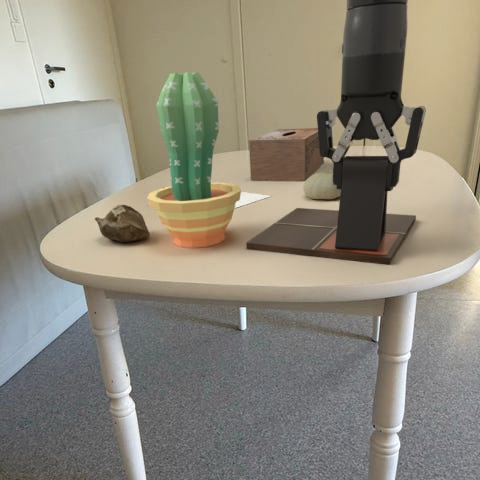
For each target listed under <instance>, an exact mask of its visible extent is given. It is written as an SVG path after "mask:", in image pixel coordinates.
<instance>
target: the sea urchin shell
mask: <svg viewBox="0 0 480 480" xmlns="http://www.w3.org/2000/svg"><path fill="white" fill-rule="evenodd" d="M336 186H337V185H334V184H333V173H330V172H318V173H317V172H316V173H313V174H312V175H311V176H309V177H308V178H307V179H306V180H305V181H304V185H303V192H304V195H305V196H306V197H307V198H309V199H312V200H330V201H331V200H334V199H337V198H340V194H341V189H337V188H336Z"/></svg>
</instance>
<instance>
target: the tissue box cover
mask: <svg viewBox="0 0 480 480" xmlns="http://www.w3.org/2000/svg"><path fill="white" fill-rule="evenodd" d="M248 146H249V147H248V149H249V150H248V151H249V165H250V166H249V167H250V168H249V169H250V171H249V172H250V181H251V180H270V181H269V182H306V181H307V179H308V178H309V177H311V176H312V175H314V174H315V172H316V171H318V169H320V168H321V167H322V166H323V165H324V164H325V160H324V159H325V157H322V156H321V155H320V148H319V136H318V127H309V128H278V129H274V130H271V131H269V132H267V133H264V134H261V135H259V136H257V137H254V138H252V139H249V140H248ZM322 164H323V165H322ZM321 165H322V166H321ZM320 166H321V167H320Z"/></svg>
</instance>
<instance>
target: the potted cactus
mask: <svg viewBox="0 0 480 480" xmlns="http://www.w3.org/2000/svg"><path fill="white" fill-rule="evenodd" d="M156 110H157V115H158V120H159V127H160V132H161V135H162V136H161V137H162V138H163V141H164V143H165V146H166V148H167V151H168V159H169V168H170V171H169V172H170V181H171V186H166V187H161V188H159V189H156V190H153V191H151V192H149V193H148V195H147V198H146V199H147V202H148V206H149V207H150V208H151V209H153V210H155V212H156V214H157V216H158V217H159V220H160V222H161V224H162V225H163V227H164V228H165V229H166V230H167V231H168V233H170V234H171V236H173V245H176V246H177V247H180V248H190V249H194V248H195V249H196V248H206V247H207V248H208V247H212V246H214V245H218V244H220V243H222V242H223V241H225V240H226V235H225V231H226V230H227V227H228V226H229V224H230V223H231V221H232V218H233V215H234V211H235V208H234V207H235V204H236V202H237V201H239V200H240V194H241V192H242V190H241V188H240V185H239V184H238V185H237V184H233V183H229V182H216V181H215V182H213V181H212V182H211V179H212V171H213V157H214V149H215V145H216V142H217V138H218V135H219V131H220V130H219V128H220V127H219V126H220V125H219V100H218V99H217V97H216V96H215V94H214V92H213V91H212V90H211V88H210V86H209V85H208V84H207V82H206V81H205V79H204V78H203V76H202V75H201V74H200V72H199V71H196V72H191V71H186V72H184V73H178V72H176V71H175V72H170V74H169V75H168V77H167V80H166V81H165V83H164V85H163V87H162V90H161V91H160V93H159V97H158V100H157V102H156Z"/></svg>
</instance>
